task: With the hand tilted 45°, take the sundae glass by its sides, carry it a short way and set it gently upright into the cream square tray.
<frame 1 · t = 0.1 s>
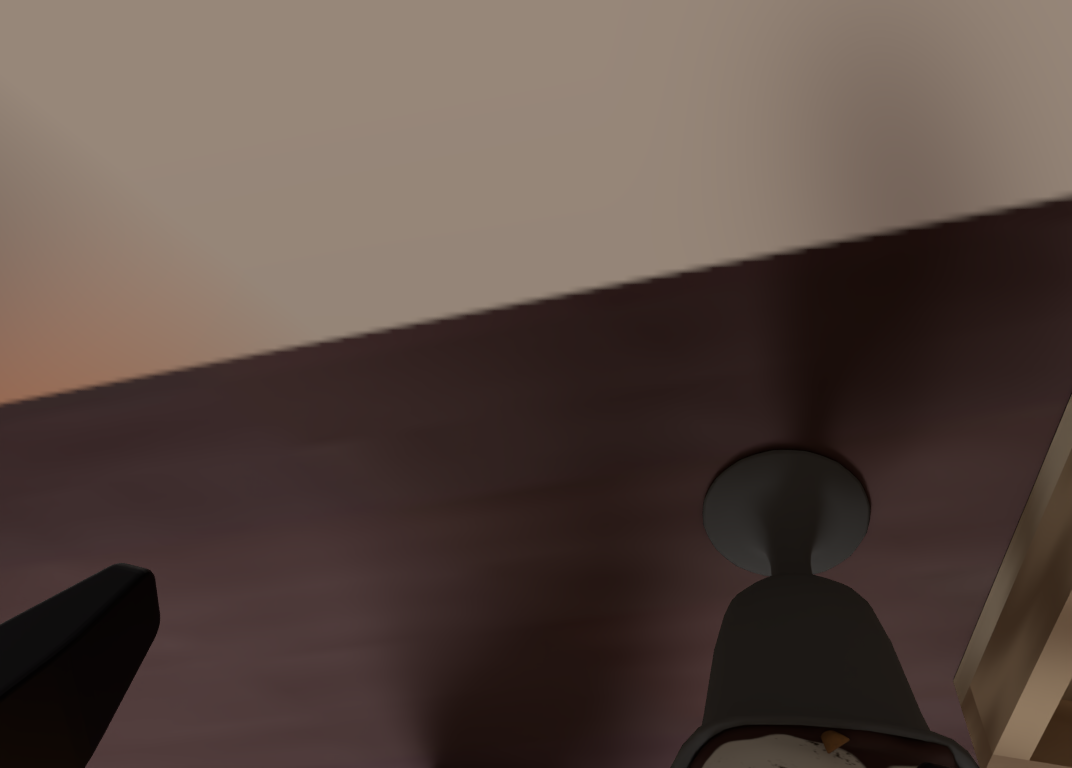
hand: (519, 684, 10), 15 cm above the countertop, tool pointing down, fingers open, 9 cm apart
sundae: (781, 510, 26), on the countertop
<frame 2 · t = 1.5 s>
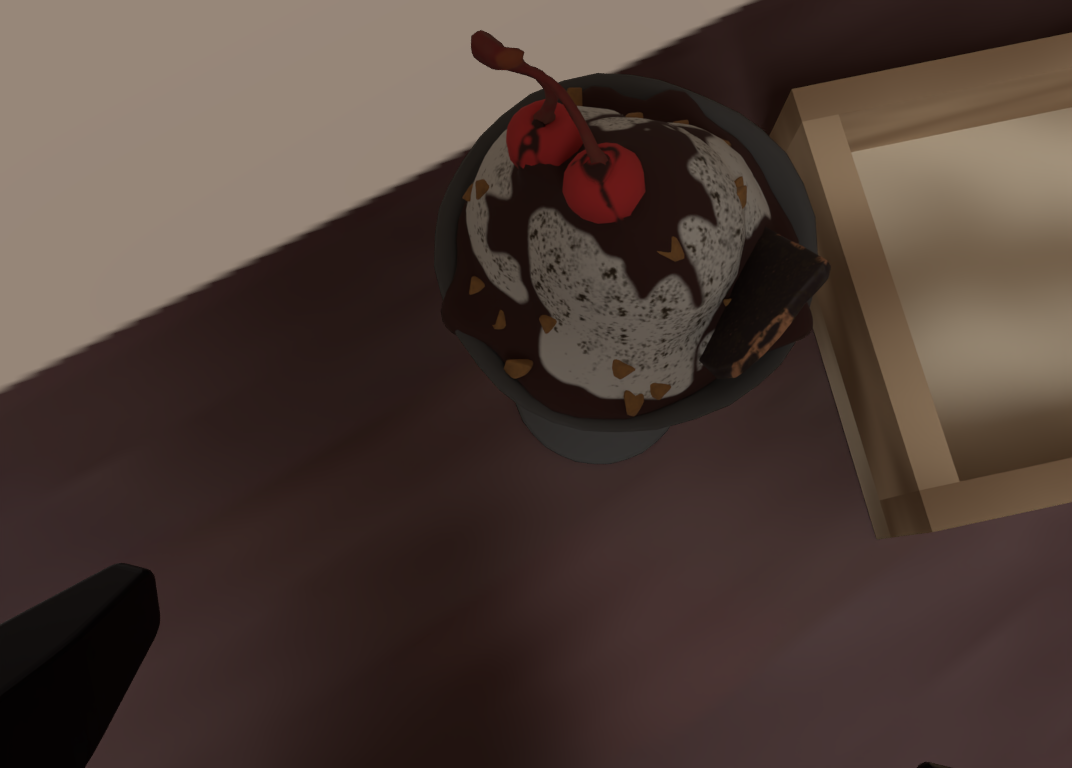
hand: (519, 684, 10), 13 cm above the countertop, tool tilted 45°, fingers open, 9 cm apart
cream square tray: (1012, 294, 24), on the countertop
sundae: (595, 382, 24), on the countertop
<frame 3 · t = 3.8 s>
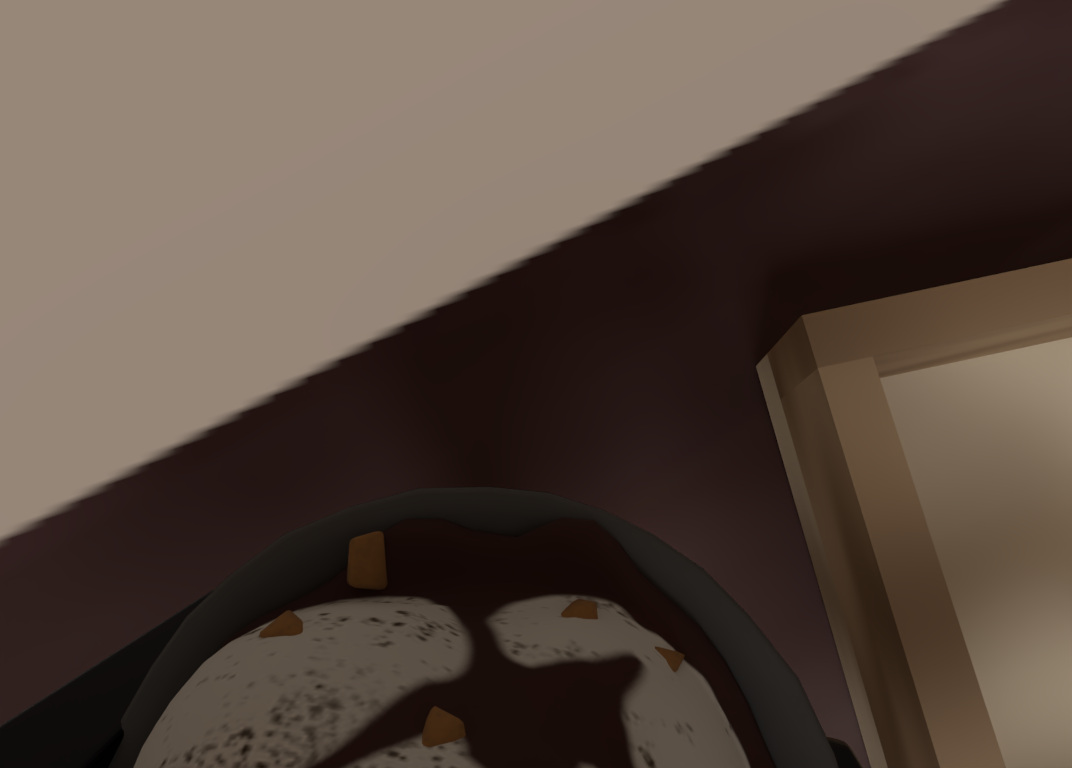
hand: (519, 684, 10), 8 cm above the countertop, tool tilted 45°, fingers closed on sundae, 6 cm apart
sundae: (517, 713, 17), on the countertop, touching gripper
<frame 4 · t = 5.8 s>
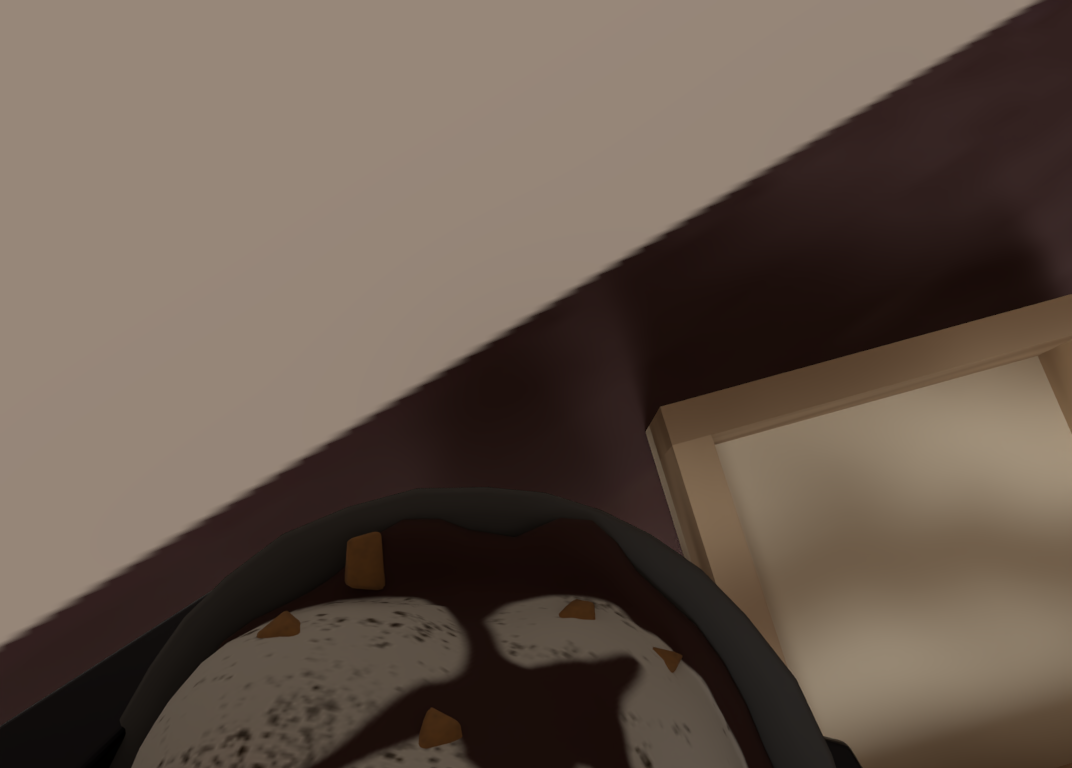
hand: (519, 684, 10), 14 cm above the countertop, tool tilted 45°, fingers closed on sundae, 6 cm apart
cream square tray: (919, 581, 23), on the countertop
sundae: (517, 711, 17), point 6 cm above the countertop, touching gripper
when the fingers open (10 cm above the countertop, at t = 8.0 s): sundae drops 1 cm, resting on cream square tray.
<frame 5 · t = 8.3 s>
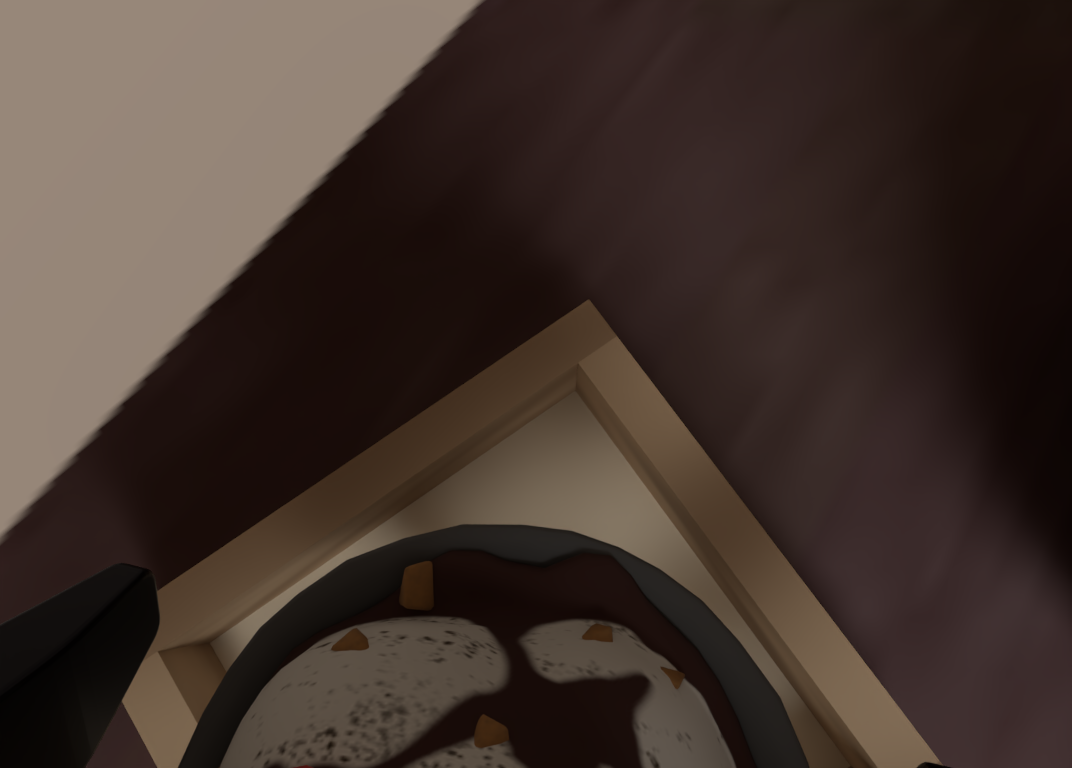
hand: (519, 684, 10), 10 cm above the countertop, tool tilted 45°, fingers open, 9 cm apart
cream square tray: (523, 696, 19), on the countertop
sundae: (519, 711, 18), point 1 cm above the countertop, touching cream square tray
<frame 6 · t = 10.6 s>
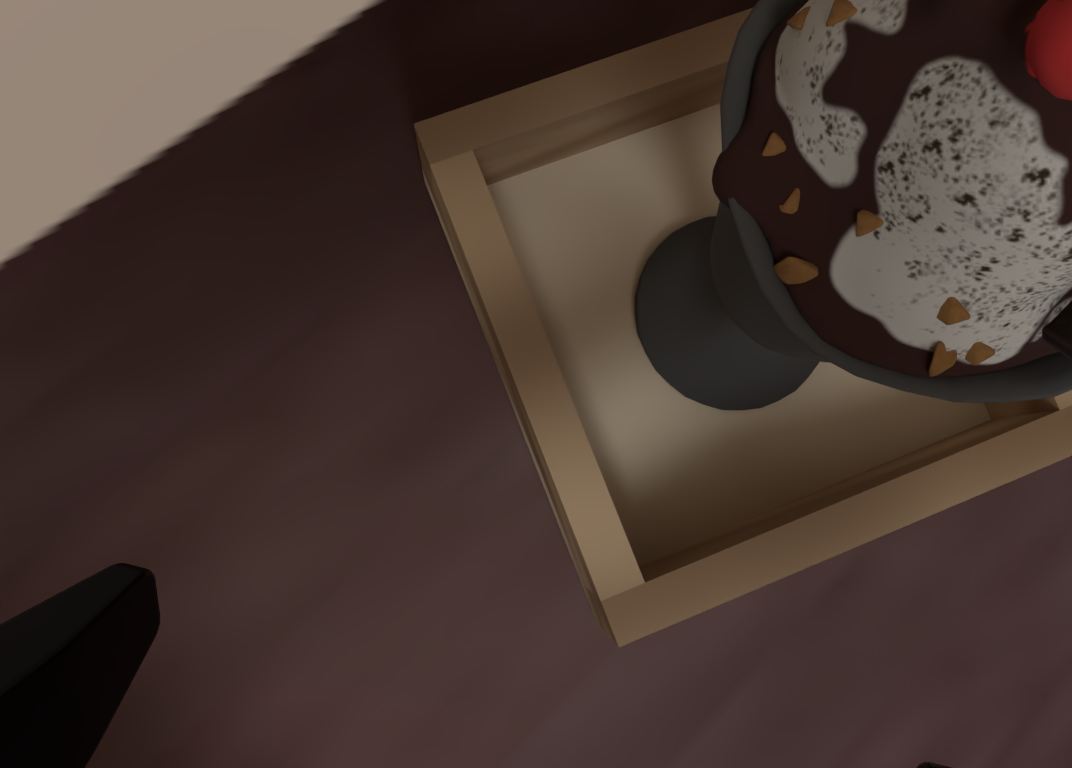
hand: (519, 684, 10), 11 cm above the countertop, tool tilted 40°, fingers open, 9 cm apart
cream square tray: (721, 313, 22), on the countertop
sundae: (727, 313, 21), point 1 cm above the countertop, touching cream square tray
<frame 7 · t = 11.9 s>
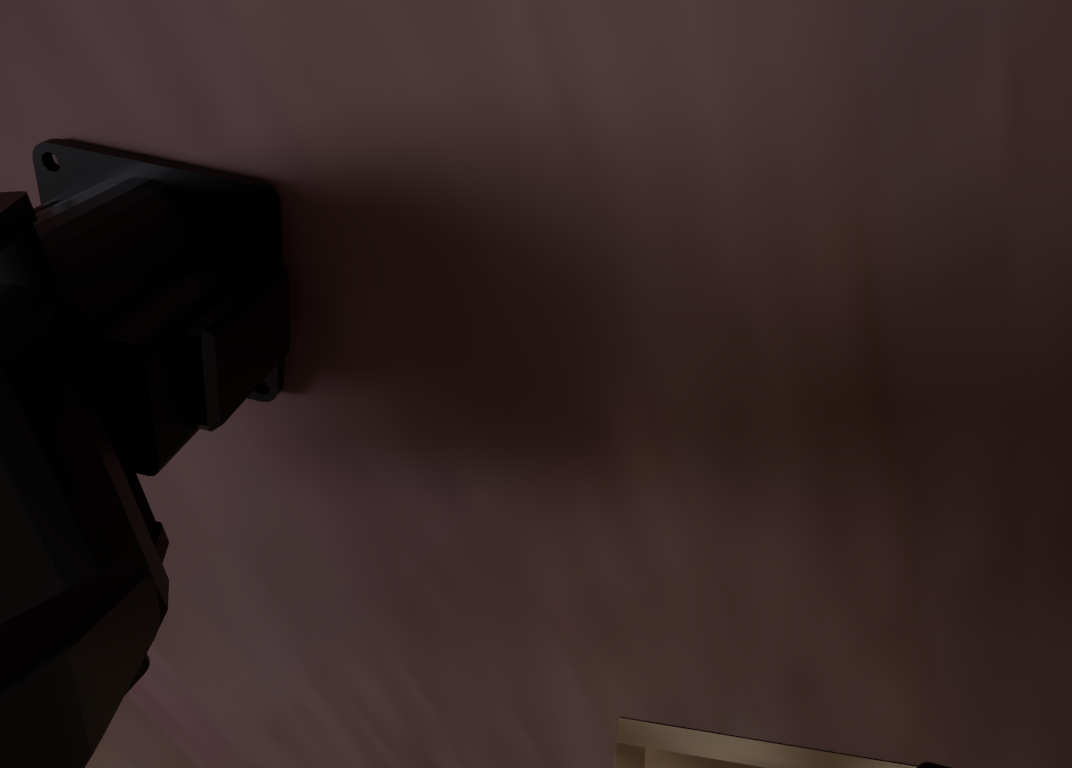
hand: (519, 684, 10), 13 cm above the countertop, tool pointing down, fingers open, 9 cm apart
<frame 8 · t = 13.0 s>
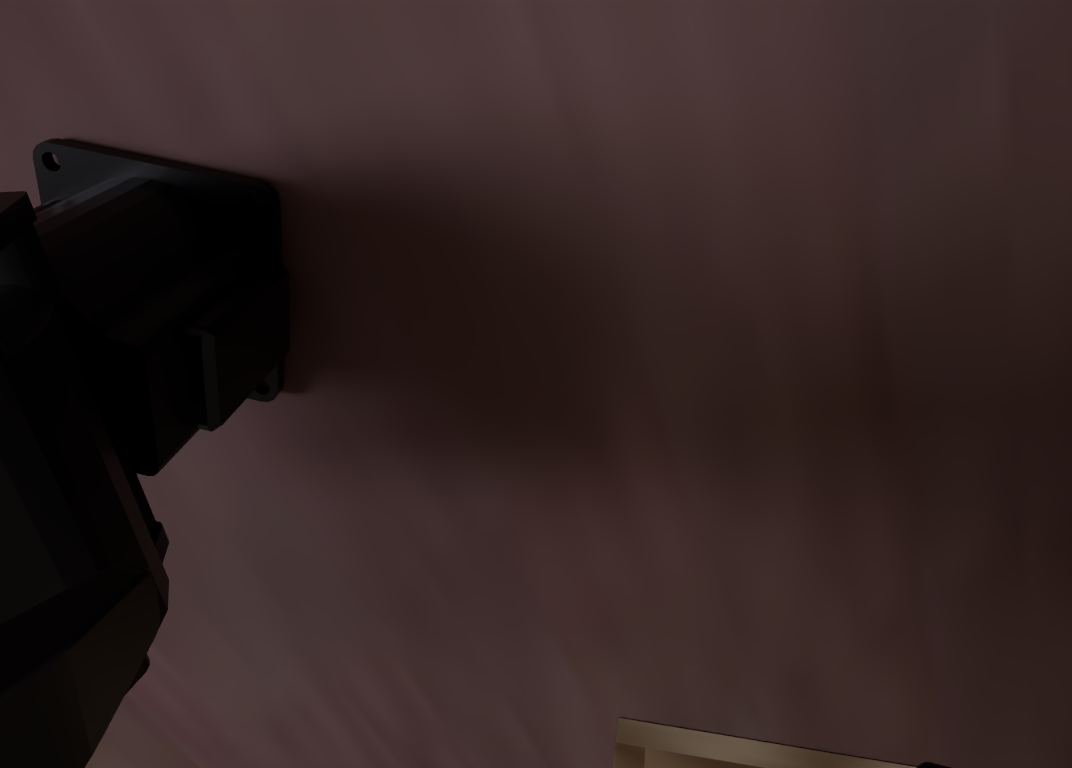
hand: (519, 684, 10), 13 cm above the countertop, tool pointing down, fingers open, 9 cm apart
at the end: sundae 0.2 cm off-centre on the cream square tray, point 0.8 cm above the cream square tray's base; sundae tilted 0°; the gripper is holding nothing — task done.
